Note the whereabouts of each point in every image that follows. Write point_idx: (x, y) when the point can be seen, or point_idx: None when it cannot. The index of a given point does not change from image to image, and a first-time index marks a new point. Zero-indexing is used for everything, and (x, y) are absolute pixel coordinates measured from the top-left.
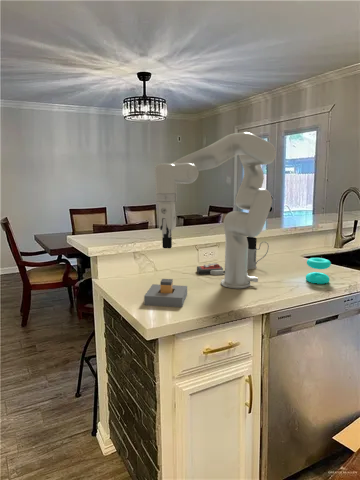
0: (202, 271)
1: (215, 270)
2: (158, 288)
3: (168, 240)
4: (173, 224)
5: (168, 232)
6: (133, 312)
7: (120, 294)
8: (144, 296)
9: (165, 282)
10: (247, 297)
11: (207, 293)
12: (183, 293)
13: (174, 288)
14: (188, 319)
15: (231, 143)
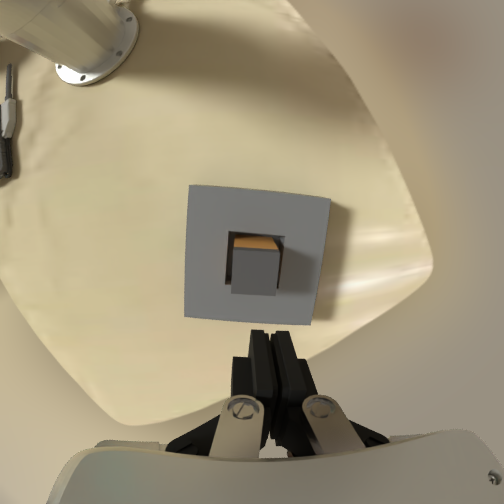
0: (5, 161)
1: (4, 121)
2: (230, 292)
3: (314, 388)
4: (422, 498)
5: (357, 448)
6: (354, 326)
7: (218, 382)
8: (309, 323)
9: (277, 275)
10: (218, 7)
11: (180, 114)
12: (283, 195)
13: (225, 233)
14: (402, 181)
15: None
